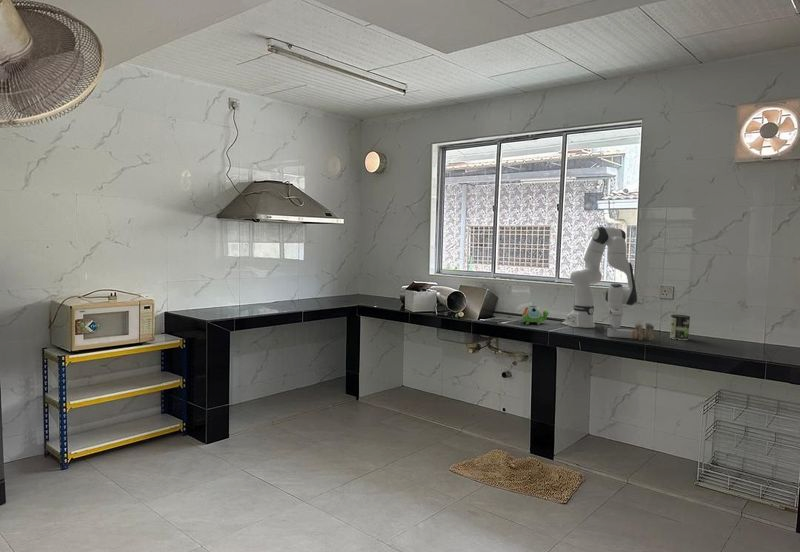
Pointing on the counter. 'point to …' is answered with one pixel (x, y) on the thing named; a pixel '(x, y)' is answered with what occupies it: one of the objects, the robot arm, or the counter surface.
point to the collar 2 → (649, 331)
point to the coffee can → (679, 327)
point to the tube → (623, 333)
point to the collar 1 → (640, 328)
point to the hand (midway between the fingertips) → (613, 333)
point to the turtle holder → (534, 315)
